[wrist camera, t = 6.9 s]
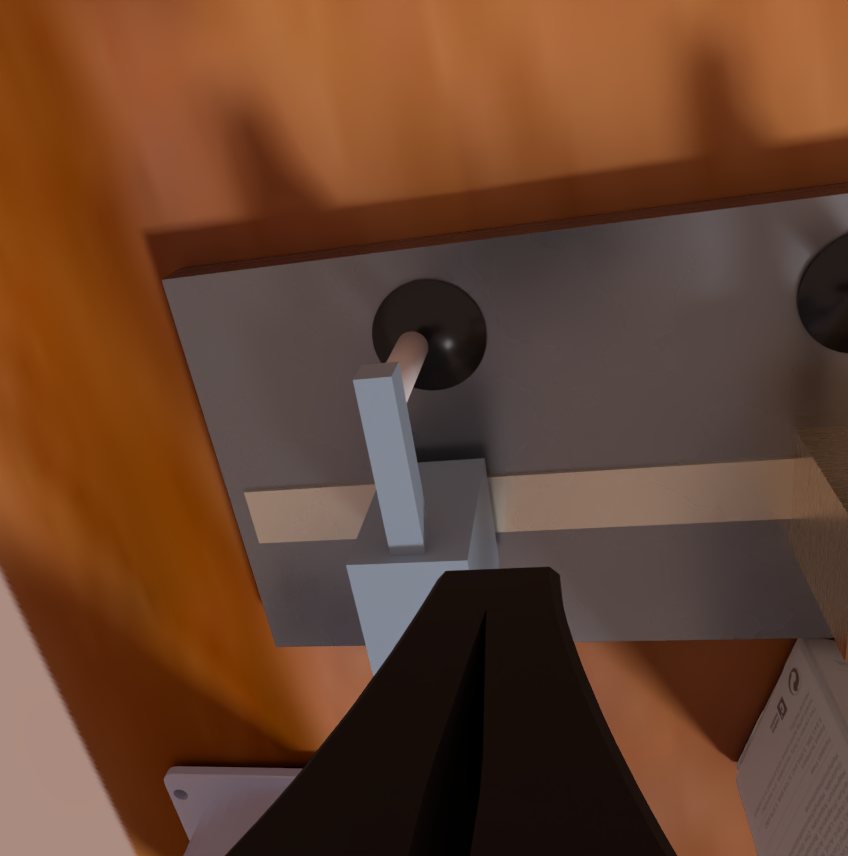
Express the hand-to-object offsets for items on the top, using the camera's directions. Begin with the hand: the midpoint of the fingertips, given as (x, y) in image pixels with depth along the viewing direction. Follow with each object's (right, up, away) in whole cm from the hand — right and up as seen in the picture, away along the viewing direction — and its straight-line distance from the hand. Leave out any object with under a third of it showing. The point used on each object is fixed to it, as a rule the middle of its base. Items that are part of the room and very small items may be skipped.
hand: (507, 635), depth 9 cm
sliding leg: (-1, +2, +9) cm, 9 cm away
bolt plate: (+3, +2, +10) cm, 10 cm away
